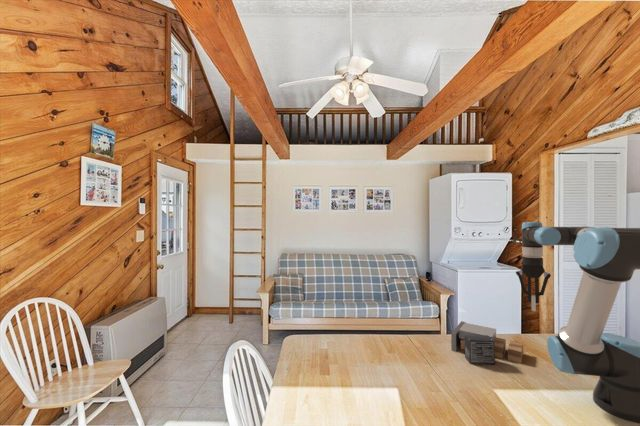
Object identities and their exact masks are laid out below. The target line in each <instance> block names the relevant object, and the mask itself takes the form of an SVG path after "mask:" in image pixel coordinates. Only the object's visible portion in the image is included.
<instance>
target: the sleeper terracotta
mask: <svg viewBox="0 0 640 426" xmlns="http://www.w3.org/2000/svg"><path fill="white" fill-rule="evenodd" d="M460 349H461V350H465V339H461V345H460Z"/></svg>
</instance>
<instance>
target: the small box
mask: <svg viewBox="0 0 640 426" xmlns="http://www.w3.org/2000/svg"><path fill="white" fill-rule="evenodd" d="M464 358H465V360H466V361H467V362H468V363H469V364H470V365H490V366H491V365H494V366H495V365H496V360H495V359H496V357H495V351H494V340H493V339H492V338H491V337H489V336H488V335H465V349H464Z"/></svg>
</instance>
